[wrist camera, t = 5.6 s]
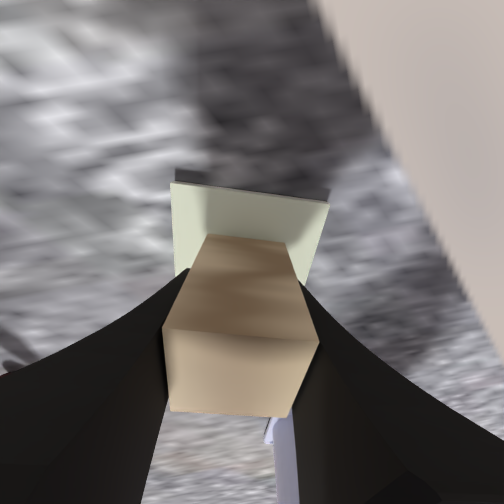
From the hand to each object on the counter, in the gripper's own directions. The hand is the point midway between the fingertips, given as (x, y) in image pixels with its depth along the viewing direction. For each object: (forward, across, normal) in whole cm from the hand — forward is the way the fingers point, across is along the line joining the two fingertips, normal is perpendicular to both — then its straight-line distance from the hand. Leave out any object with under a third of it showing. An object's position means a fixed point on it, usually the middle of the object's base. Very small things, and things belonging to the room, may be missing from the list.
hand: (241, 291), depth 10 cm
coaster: (+3, 0, 0) cm, 3 cm away
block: (+2, 0, 0) cm, 2 cm away
